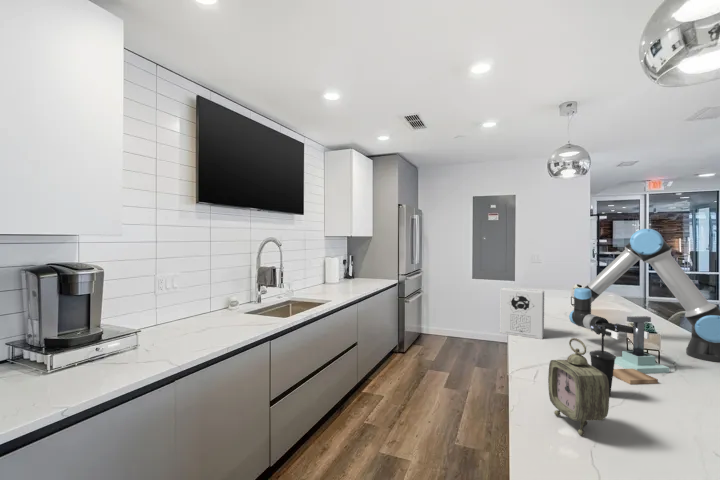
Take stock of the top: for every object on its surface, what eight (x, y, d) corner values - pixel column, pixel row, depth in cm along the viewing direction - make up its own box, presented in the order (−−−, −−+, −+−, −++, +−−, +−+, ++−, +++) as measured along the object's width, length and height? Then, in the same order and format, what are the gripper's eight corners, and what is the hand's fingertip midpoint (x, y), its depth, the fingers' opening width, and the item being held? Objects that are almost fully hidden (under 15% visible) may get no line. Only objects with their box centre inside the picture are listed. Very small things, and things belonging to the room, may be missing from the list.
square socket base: (639, 360, 159) (639, 348, 159) (669, 372, 145) (669, 359, 145) (609, 361, 157) (609, 348, 157) (637, 373, 144) (637, 359, 143)
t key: (642, 359, 154) (643, 315, 154) (653, 363, 149) (654, 318, 149) (623, 360, 153) (624, 315, 153) (633, 364, 148) (634, 318, 148)
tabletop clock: (547, 413, 111) (548, 332, 111) (575, 412, 112) (576, 332, 111) (579, 439, 97) (580, 346, 96) (611, 438, 97) (612, 346, 97)
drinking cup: (620, 399, 121) (620, 340, 120) (594, 397, 122) (595, 338, 122) (609, 390, 128) (609, 334, 128) (585, 388, 130) (586, 332, 129)
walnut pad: (632, 372, 145) (632, 368, 145) (657, 383, 134) (657, 379, 134) (607, 373, 144) (607, 369, 144) (630, 384, 133) (630, 380, 133)
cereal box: (543, 335, 198) (544, 290, 197) (542, 339, 191) (543, 292, 191) (502, 330, 209) (502, 287, 209) (499, 333, 203) (500, 288, 202)
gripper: (620, 331, 175) (660, 344, 154) (571, 332, 173) (605, 345, 152) (620, 315, 175) (660, 326, 154) (572, 316, 173) (605, 327, 152)
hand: (633, 336), depth 153 cm, fingers open, 13 cm apart
